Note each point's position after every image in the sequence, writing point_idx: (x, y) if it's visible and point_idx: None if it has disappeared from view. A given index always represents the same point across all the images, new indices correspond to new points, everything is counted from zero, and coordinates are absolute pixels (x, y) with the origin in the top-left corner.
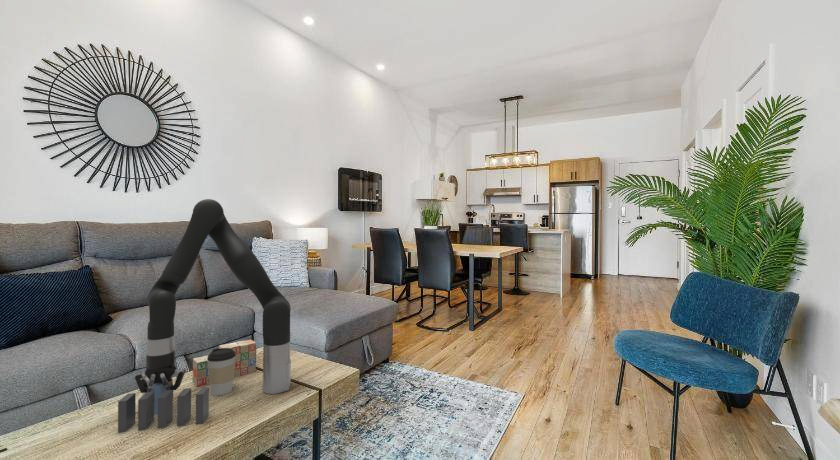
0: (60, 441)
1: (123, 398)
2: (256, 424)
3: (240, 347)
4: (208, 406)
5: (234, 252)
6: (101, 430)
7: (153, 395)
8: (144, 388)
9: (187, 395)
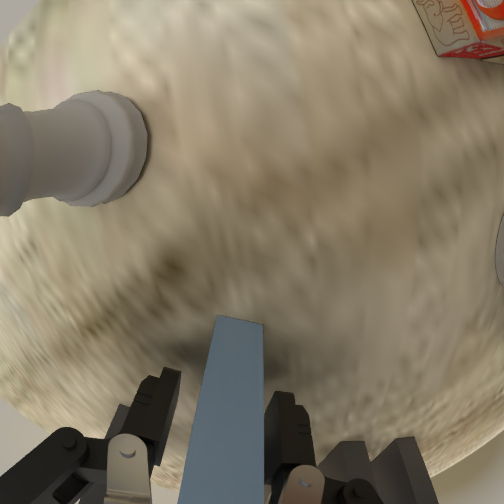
0: (9, 388)
1: None
2: (458, 461)
3: None
4: (422, 463)
5: None
6: (61, 398)
7: None
8: (87, 486)
9: None
